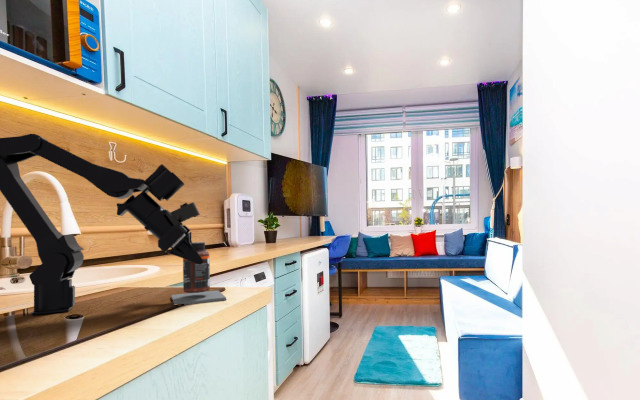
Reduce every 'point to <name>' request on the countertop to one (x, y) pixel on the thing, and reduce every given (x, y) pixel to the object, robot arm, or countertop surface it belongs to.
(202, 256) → the supplement bottle
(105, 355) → the countertop surface
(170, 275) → the countertop surface
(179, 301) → the charcoal mat
